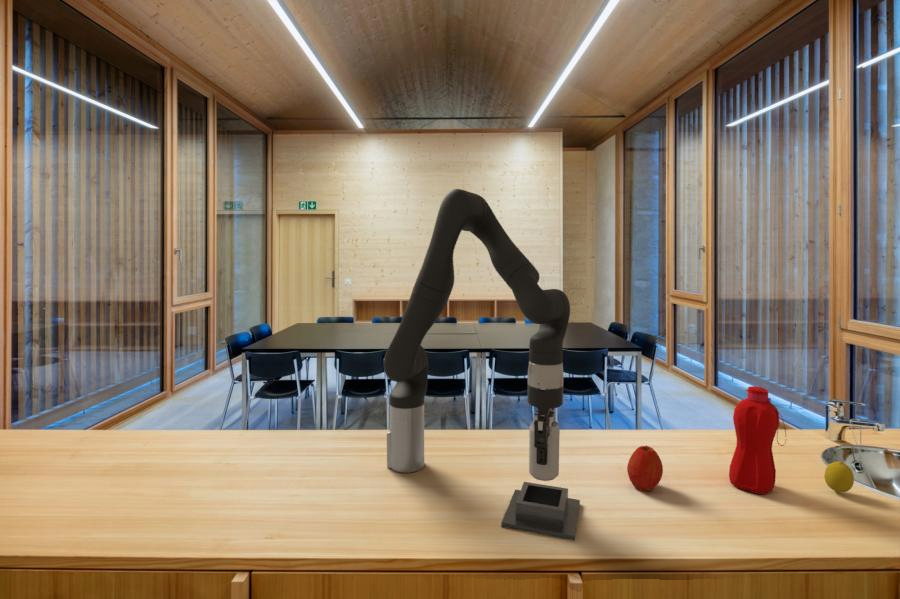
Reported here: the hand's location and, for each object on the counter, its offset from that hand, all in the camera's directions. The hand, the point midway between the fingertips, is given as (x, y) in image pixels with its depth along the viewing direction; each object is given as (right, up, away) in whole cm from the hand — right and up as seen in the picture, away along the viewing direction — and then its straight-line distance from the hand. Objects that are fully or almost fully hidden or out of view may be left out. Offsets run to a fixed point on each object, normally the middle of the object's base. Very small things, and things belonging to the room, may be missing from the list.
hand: (544, 457), depth 107 cm
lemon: (+73, -13, +11) cm, 75 cm away
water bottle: (+55, -12, +14) cm, 58 cm away
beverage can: (0, -4, +1) cm, 4 cm away
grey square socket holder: (0, -13, +1) cm, 13 cm away
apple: (+27, -12, +14) cm, 33 cm away
